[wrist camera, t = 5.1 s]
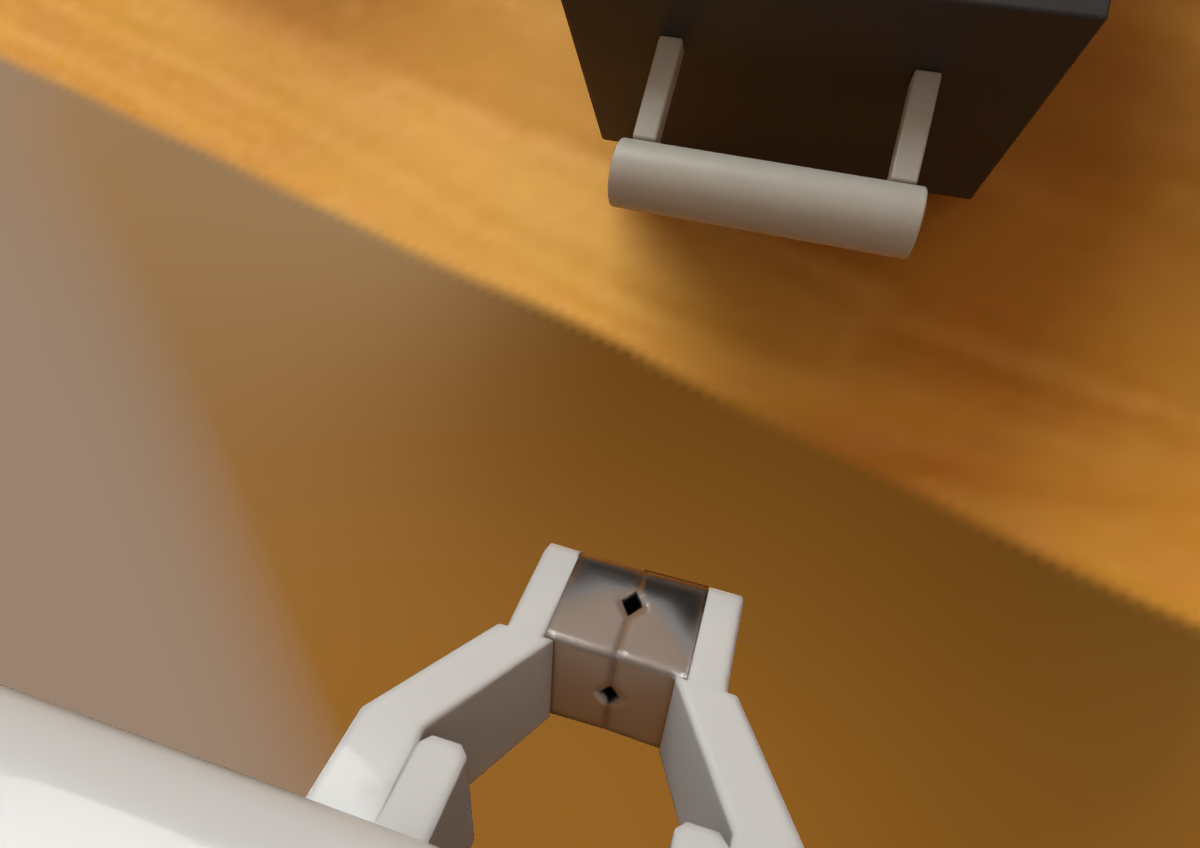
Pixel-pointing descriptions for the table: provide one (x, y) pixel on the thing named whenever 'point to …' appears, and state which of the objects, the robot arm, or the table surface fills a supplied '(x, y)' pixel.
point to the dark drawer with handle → (818, 105)
